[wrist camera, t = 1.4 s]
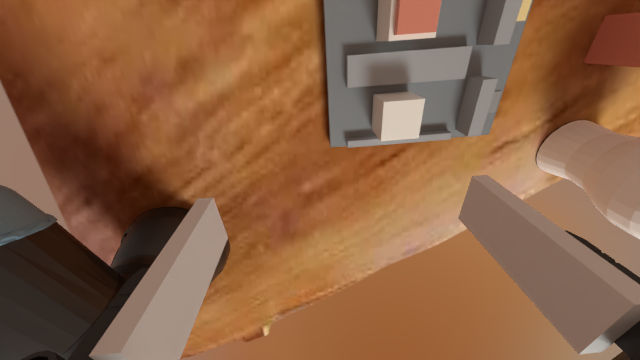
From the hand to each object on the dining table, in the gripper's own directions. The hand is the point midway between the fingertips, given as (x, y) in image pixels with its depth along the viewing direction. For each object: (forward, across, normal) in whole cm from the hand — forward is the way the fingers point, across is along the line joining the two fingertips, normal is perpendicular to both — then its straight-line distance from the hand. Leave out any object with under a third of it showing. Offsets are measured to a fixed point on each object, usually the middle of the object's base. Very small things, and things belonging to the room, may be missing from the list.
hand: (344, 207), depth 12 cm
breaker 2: (+17, +8, 0) cm, 19 cm away
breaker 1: (+17, +8, +9) cm, 21 cm away
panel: (+18, +12, +5) cm, 22 cm away
